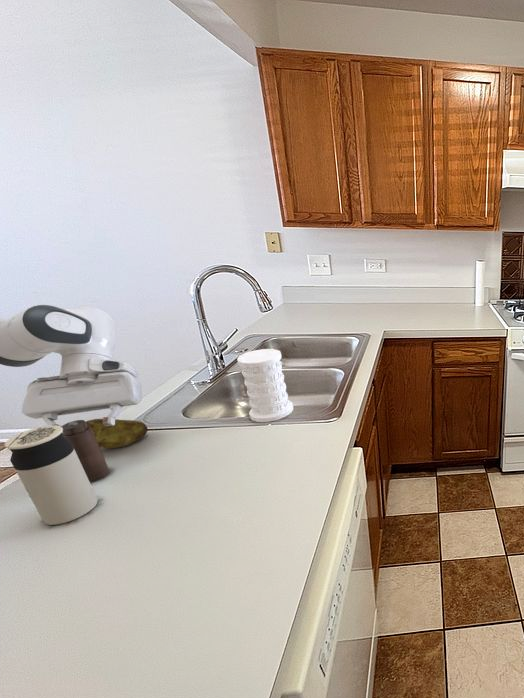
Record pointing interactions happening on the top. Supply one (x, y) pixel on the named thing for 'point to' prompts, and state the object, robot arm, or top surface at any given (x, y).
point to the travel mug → (52, 474)
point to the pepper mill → (86, 449)
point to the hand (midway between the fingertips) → (82, 429)
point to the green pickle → (117, 432)
